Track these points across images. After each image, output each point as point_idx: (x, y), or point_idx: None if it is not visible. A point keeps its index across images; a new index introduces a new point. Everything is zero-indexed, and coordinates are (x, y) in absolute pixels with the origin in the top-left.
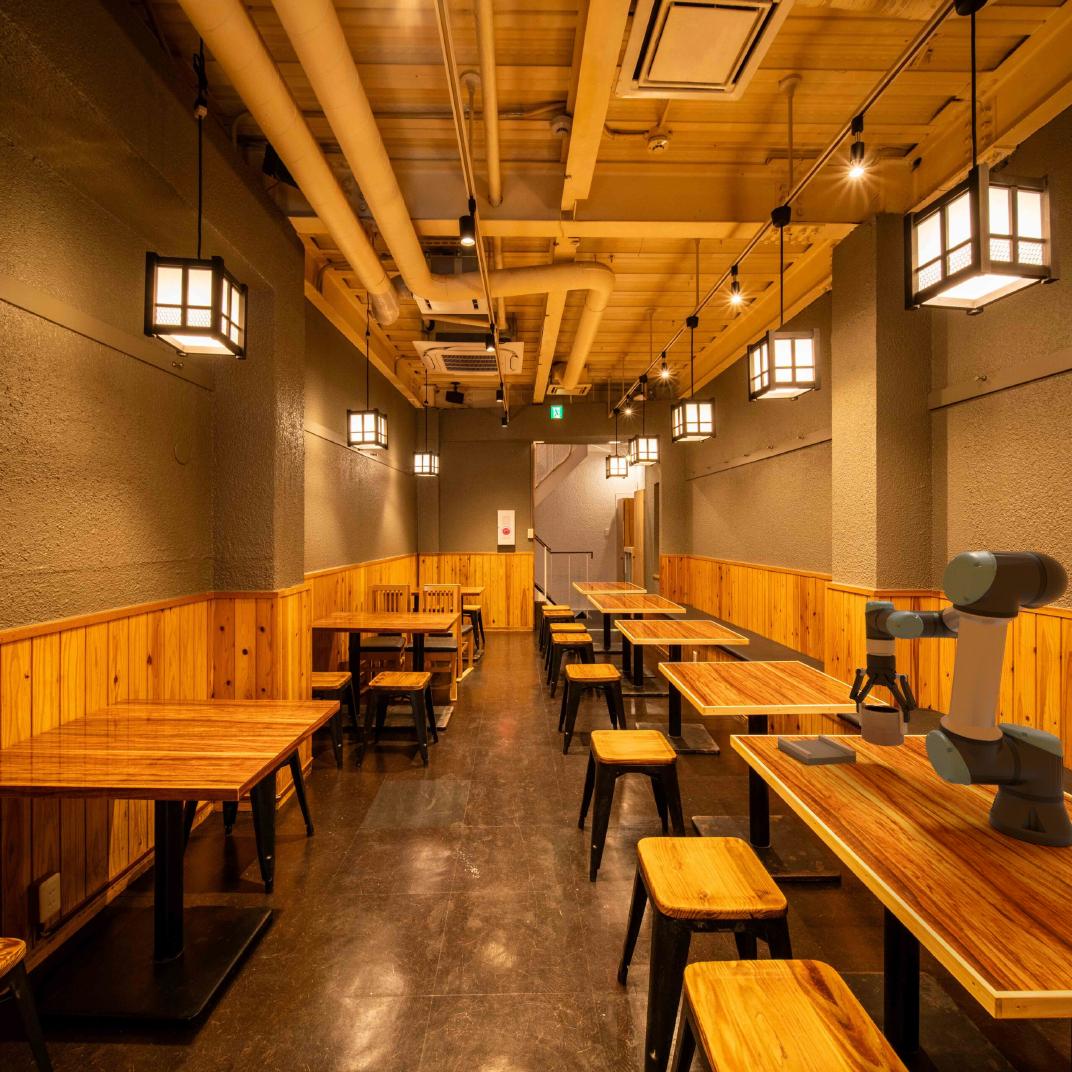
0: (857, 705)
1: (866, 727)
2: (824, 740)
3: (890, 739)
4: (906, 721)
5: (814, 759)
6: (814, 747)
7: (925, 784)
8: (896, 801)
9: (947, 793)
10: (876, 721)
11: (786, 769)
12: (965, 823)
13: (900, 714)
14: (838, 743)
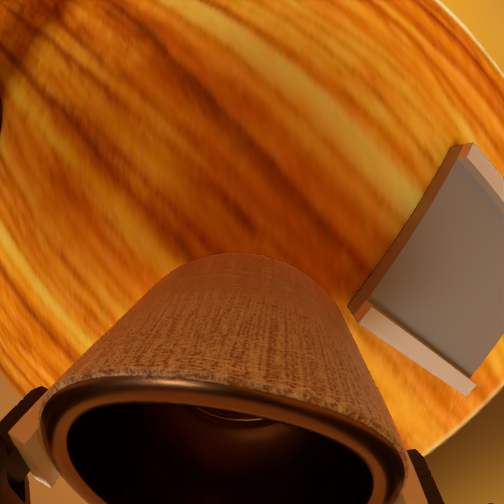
0: (429, 492)
1: (311, 301)
2: (459, 370)
3: (155, 285)
4: (38, 392)
5: (451, 165)
6: (477, 291)
7: (113, 248)
8: (140, 40)
9: (62, 217)
10: (204, 309)
11: (465, 72)
12: (28, 66)
13: (34, 424)
14: (424, 359)
